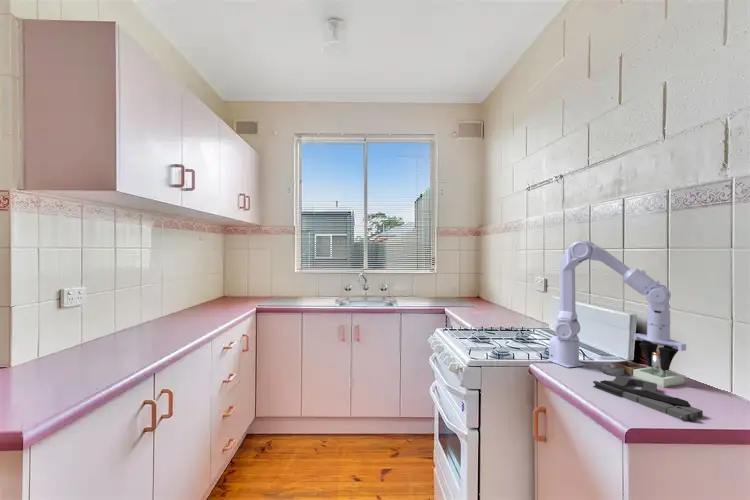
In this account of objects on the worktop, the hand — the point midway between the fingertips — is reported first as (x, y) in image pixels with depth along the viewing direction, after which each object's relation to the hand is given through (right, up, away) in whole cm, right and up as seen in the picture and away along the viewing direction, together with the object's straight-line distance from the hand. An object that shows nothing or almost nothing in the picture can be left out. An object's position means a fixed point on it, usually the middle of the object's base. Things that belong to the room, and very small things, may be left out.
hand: (658, 368), depth 118 cm
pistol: (-12, -5, -14) cm, 19 cm away
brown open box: (-6, -4, +8) cm, 11 cm away
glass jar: (0, -3, 0) cm, 3 cm away
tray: (0, -4, 0) cm, 4 cm away
